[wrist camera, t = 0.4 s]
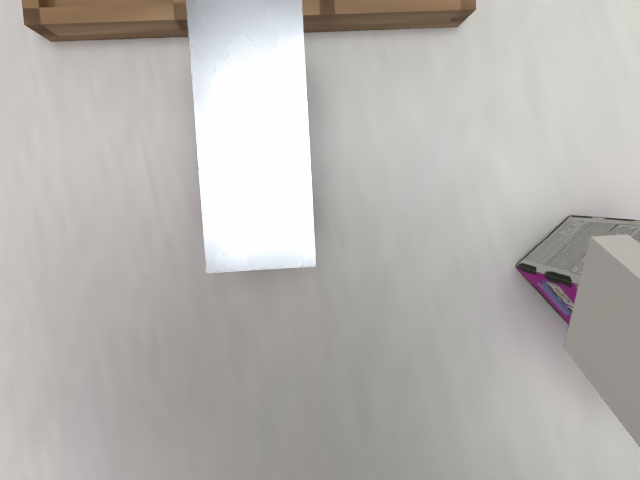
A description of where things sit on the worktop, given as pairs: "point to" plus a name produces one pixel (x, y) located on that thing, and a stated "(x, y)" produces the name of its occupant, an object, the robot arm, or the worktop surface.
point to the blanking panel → (252, 133)
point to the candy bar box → (569, 257)
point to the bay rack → (171, 21)
